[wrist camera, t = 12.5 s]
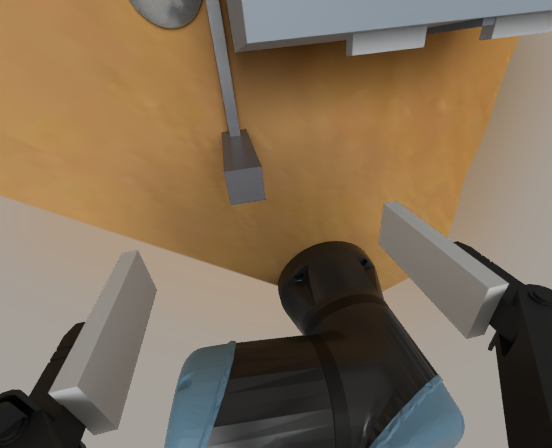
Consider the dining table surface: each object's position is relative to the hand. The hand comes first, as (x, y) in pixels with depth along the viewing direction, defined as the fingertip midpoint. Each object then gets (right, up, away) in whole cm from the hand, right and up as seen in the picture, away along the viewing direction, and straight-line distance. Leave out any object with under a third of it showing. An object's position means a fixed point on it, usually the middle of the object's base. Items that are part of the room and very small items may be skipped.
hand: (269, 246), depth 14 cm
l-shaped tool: (-5, +17, +10) cm, 20 cm away
